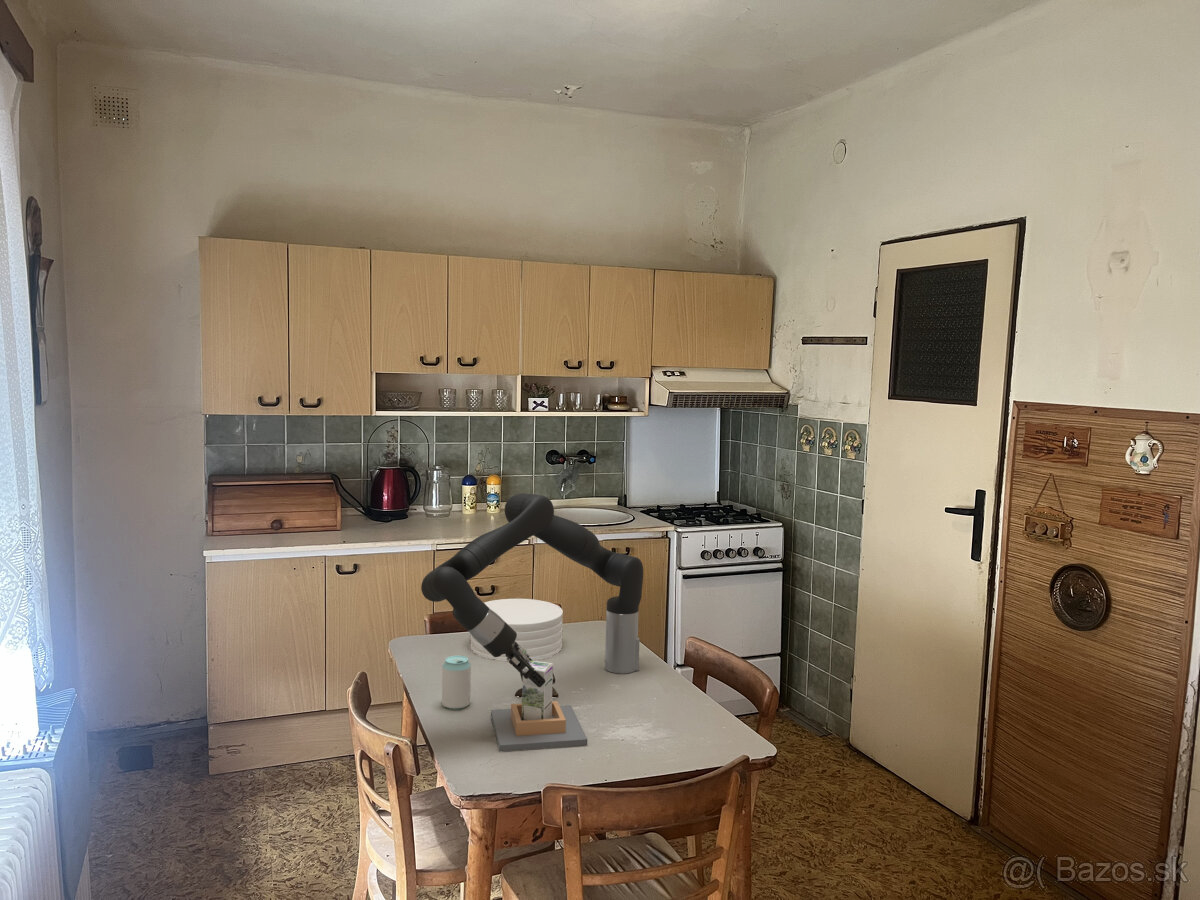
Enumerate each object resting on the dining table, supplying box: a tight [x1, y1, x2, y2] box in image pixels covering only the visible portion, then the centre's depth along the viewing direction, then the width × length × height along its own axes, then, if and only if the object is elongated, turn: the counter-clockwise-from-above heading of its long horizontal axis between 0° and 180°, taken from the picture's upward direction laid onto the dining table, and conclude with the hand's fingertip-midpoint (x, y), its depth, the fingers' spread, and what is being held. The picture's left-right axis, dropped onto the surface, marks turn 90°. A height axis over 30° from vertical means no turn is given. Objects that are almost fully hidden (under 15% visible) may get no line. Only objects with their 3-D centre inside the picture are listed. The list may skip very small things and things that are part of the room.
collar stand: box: [490, 700, 588, 752], centre depth 199 cm, size 20×20×4 cm
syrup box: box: [521, 660, 554, 721], centre depth 199 cm, size 6×6×14 cm
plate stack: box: [470, 598, 564, 662], centre depth 260 cm, size 28×28×12 cm
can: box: [441, 655, 472, 710], centre depth 213 cm, size 7×7×12 cm
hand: (539, 677), depth 199 cm, fingers open, 8 cm apart
